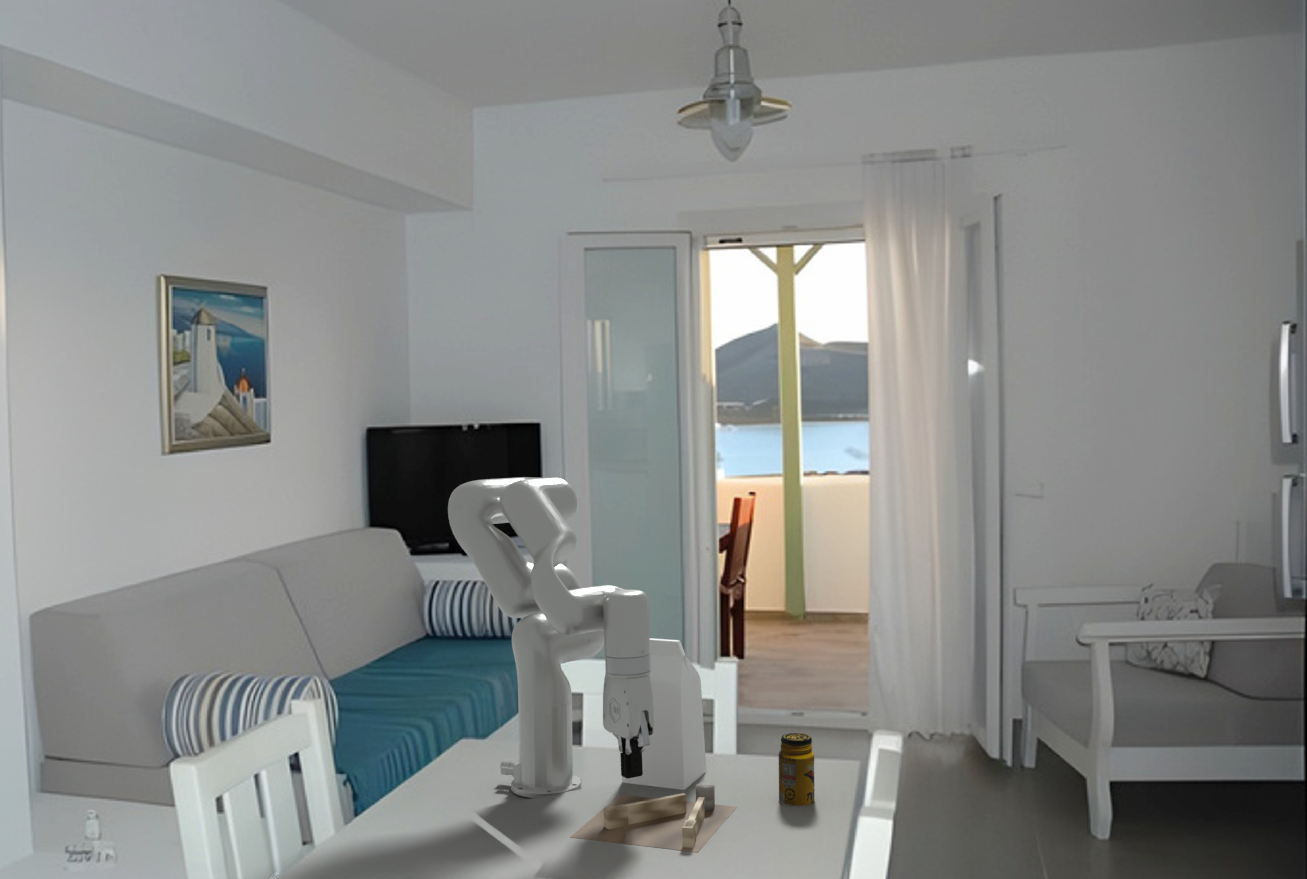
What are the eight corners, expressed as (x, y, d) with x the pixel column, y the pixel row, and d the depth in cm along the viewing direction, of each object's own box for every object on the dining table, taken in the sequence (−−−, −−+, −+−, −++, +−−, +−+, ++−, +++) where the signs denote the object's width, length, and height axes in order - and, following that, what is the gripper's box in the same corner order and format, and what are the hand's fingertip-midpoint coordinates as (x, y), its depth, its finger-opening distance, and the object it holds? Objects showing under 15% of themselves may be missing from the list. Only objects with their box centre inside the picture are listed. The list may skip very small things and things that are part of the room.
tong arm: (682, 810, 206) (682, 792, 206) (687, 813, 205) (687, 795, 205) (603, 826, 199) (603, 808, 199) (608, 829, 197) (608, 810, 197)
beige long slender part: (697, 803, 209) (697, 782, 209) (715, 804, 209) (715, 783, 209) (677, 846, 189) (677, 823, 189) (697, 848, 189) (697, 824, 189)
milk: (621, 788, 222) (620, 643, 221) (646, 770, 232) (644, 632, 232) (684, 795, 217) (683, 648, 216) (706, 776, 228) (705, 636, 227)
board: (569, 843, 194) (569, 837, 194) (620, 800, 215) (620, 794, 215) (697, 858, 187) (697, 852, 187) (737, 812, 208) (737, 806, 208)
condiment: (825, 807, 210) (824, 737, 210) (786, 817, 205) (786, 745, 205) (797, 796, 216) (796, 728, 216) (759, 805, 212) (758, 736, 211)
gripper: (586, 662, 209) (590, 770, 209) (630, 675, 196) (634, 790, 197) (625, 656, 213) (629, 763, 213) (670, 669, 200) (674, 782, 200)
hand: (632, 776), depth 205 cm, fingers closed
